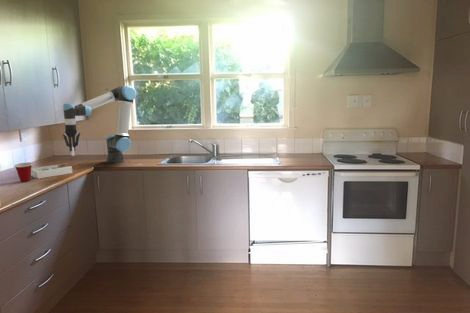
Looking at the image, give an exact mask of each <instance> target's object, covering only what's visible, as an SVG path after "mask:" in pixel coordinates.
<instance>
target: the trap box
mask: <svg viewBox="0 0 470 313" xmlns="http://www.w3.org/2000/svg"><path fill="white" fill-rule="evenodd" d="M67 174H73V167H72V166H69V165H68V167H62V168H58V164H53V165H45V166H38V167H33V168H32V167H31V177H33V178H35V179H37V178H38V179H42V178H50V177H57V176H61V175H62V176H63V175H67Z"/></svg>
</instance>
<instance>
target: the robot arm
mask: <svg viewBox="0 0 470 313" xmlns="http://www.w3.org/2000/svg"><path fill="white" fill-rule="evenodd" d="M136 97H137V90H136V89H135V87H134V86H132V85H120V86H117V87H115V88H113V89H110V90H108V91H107V92H106V93H103V94H101V95H98V96H96V97H94V98H92V99H89V100H86V101H84V102H81V103H79V104H76V105H75V104H74V103H63V106H62V107H63V118H64V124H65V125H64V133H62V134H61V136H62V137H63V139H64V143H65V144H66V145H65V146H66V147H68V148H69V152H70V155H71V156H72V157H74V156H76V154H75V152H76V147H77V146H78V145H79V139H80V135H81V133H80V132H78V130H77V125H76V124H77V121H76V117H87V116H91V115H92V111H93V110H94V109H97V108H100V107H101V106H103V105H106V104H109V103H112V102H118V103H119V111H118V121H117V130H116V131H117V132H115V134H113V135H112V134H111V135H107V136H106V139H105V140H106V149H107V150H106V151H107V154H106V159H105V161H106V162H105V163H107V164H117V163H119V164H120V163H123V162H125V161H126V160H125V157H124V154H123V152H127V151H128V150H129V149H131V145H132V140H130V134H129V126H130V115H131V108H132V105H133V104H134V100H135V99H136Z"/></svg>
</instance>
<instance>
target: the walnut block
mask: <svg viewBox="0 0 470 313" xmlns="http://www.w3.org/2000/svg"><path fill="white" fill-rule="evenodd" d="M57 165H58V168H62V167H69V163H67V162H62V163H57Z"/></svg>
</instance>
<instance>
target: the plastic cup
mask: <svg viewBox="0 0 470 313" xmlns="http://www.w3.org/2000/svg"><path fill="white" fill-rule="evenodd" d="M32 166H33V162H21V163H20V162H19V163H16V164H14V167H15V170H16V173H17V175H18V178H19V181H20V182H21V183H27V181H28V182H30V181H31V179H32V178H31V177H32V176H31V168H32Z"/></svg>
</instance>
